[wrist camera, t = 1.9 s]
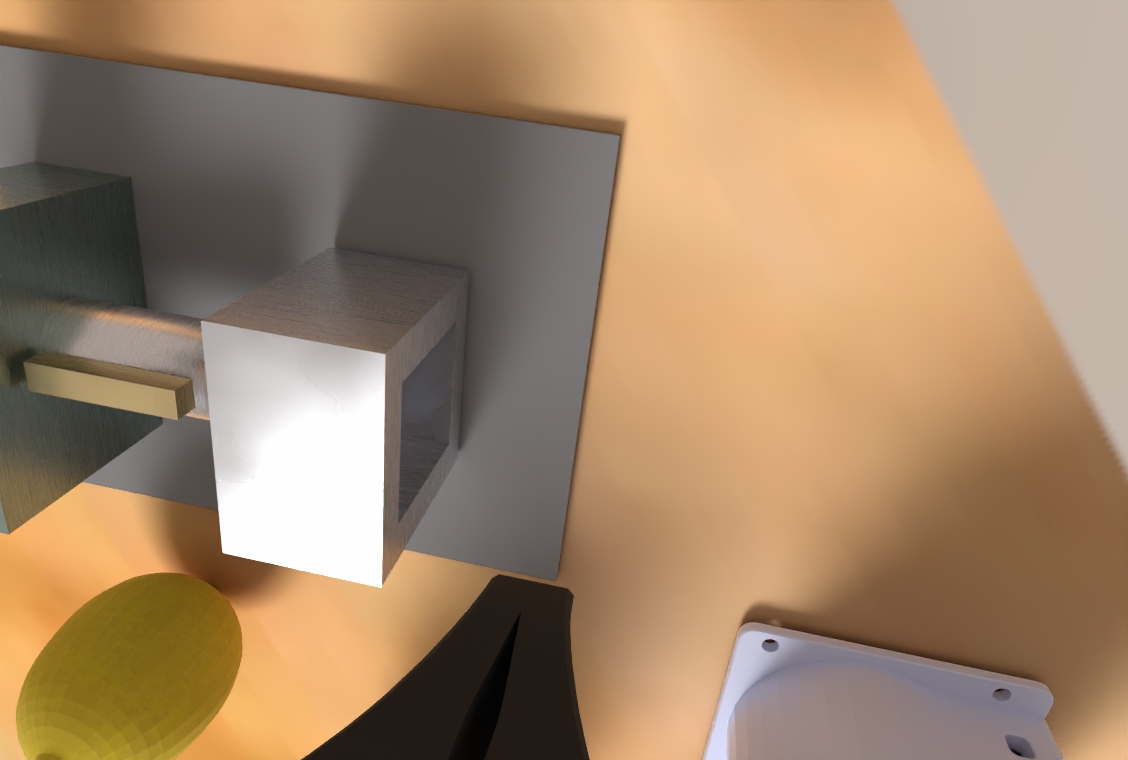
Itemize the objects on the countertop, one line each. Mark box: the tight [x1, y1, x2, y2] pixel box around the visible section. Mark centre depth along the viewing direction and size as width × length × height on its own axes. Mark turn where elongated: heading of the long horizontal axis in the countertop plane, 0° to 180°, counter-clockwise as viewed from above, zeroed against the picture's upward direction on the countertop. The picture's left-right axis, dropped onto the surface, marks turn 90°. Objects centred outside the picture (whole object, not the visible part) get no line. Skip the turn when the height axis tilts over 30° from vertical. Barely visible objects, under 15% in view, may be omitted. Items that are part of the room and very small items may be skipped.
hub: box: [201, 247, 470, 587], centre depth 20 cm, size 4×6×6 cm, turn 173°
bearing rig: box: [0, 162, 210, 534], centre depth 21 cm, size 8×8×6 cm
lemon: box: [16, 573, 242, 760], centre depth 25 cm, size 6×6×8 cm
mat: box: [0, 44, 621, 581], centre depth 23 cm, size 18×14×1 cm
